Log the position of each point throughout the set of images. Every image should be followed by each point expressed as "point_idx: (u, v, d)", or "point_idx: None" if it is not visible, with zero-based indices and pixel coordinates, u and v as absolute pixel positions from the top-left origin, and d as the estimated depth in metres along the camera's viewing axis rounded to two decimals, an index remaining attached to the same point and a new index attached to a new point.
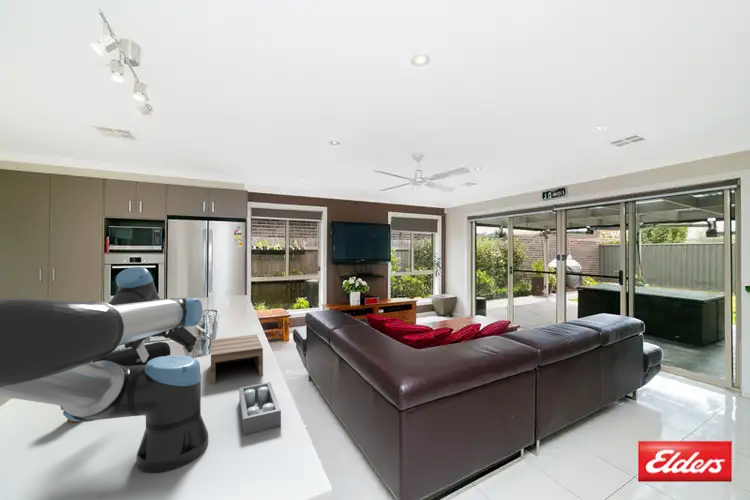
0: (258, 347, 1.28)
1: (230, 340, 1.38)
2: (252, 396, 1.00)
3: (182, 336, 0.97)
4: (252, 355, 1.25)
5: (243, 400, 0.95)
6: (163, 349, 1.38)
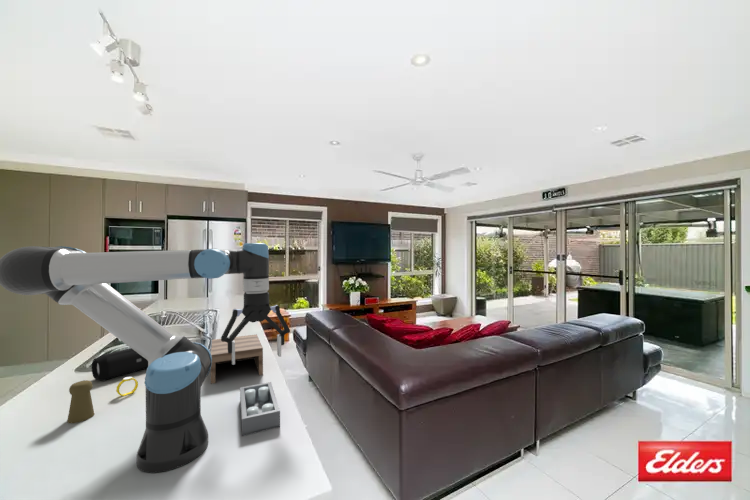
0: (258, 347, 1.28)
1: None
2: (252, 396, 1.00)
3: None
4: (252, 355, 1.25)
5: (243, 400, 0.95)
6: None
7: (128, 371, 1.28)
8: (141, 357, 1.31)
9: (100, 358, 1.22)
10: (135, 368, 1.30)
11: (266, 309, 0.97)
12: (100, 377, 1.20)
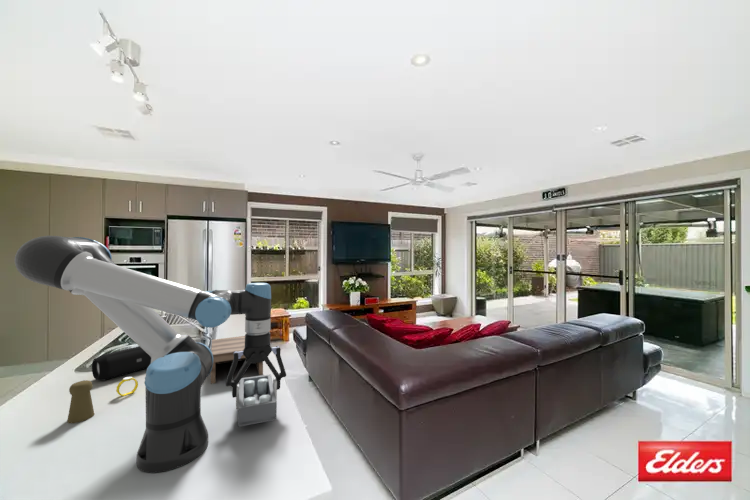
0: None
1: (230, 340, 1.38)
2: (251, 387, 1.00)
3: None
4: None
5: (241, 390, 0.95)
6: None
7: (128, 371, 1.28)
8: (141, 357, 1.31)
9: (100, 358, 1.22)
10: (135, 368, 1.29)
11: (267, 350, 0.97)
12: (100, 377, 1.20)
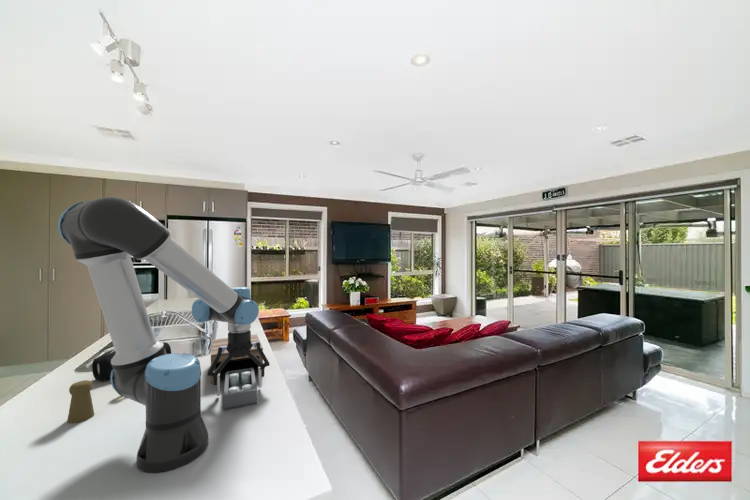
0: None
1: None
2: (236, 379, 1.14)
3: None
4: None
5: (227, 381, 1.09)
6: None
7: None
8: None
9: (100, 358, 1.21)
10: None
11: (248, 346, 1.10)
12: (100, 377, 1.20)
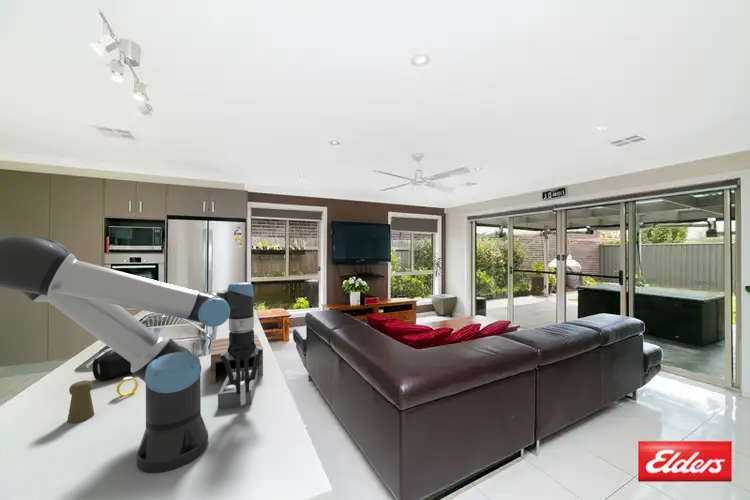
0: (258, 347, 1.28)
1: None
2: None
3: None
4: (252, 355, 1.25)
5: (227, 379, 1.11)
6: None
7: (129, 371, 1.28)
8: None
9: (101, 358, 1.21)
10: None
11: (251, 347, 1.00)
12: (100, 377, 1.20)
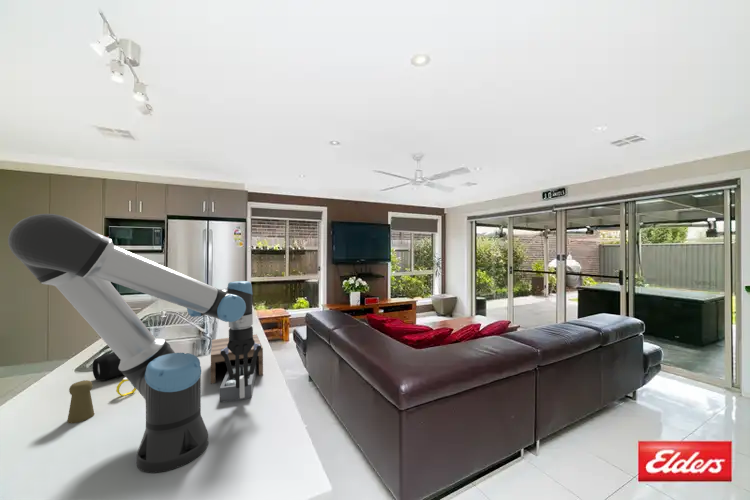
0: None
1: None
2: None
3: None
4: (252, 355, 1.25)
5: (227, 375, 1.15)
6: None
7: None
8: None
9: (101, 358, 1.21)
10: None
11: (250, 343, 1.04)
12: (100, 377, 1.20)
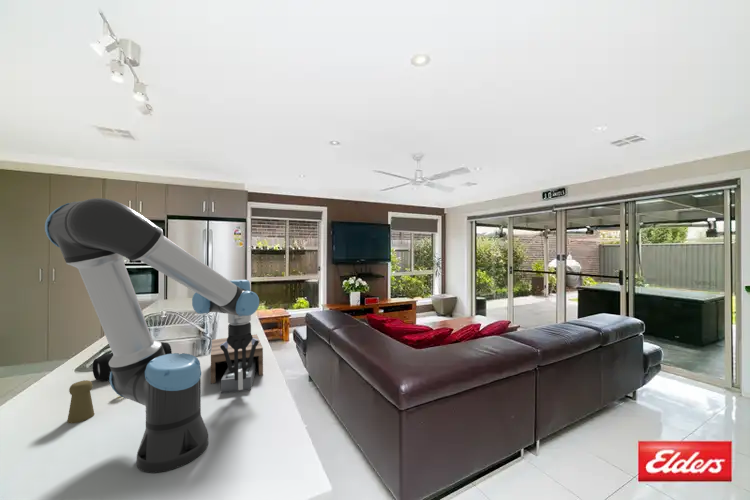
0: (258, 347, 1.28)
1: None
2: (238, 366, 1.27)
3: None
4: None
5: None
6: (164, 350, 1.38)
7: None
8: None
9: (101, 358, 1.21)
10: None
11: (248, 338, 1.11)
12: (100, 377, 1.20)
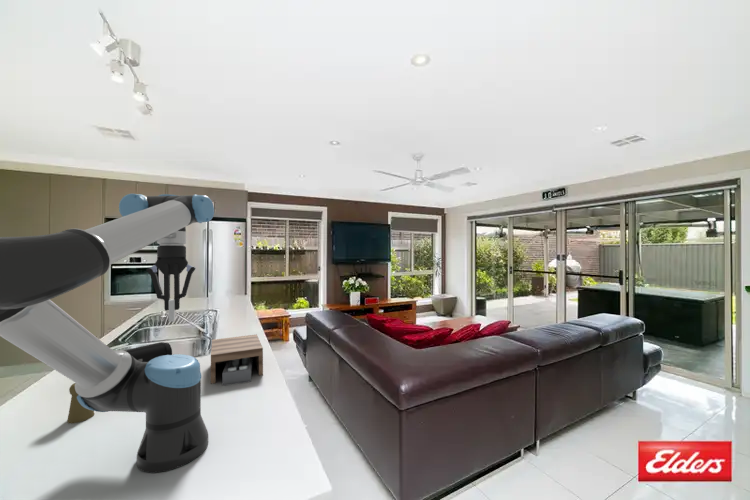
0: (258, 347, 1.28)
1: (230, 340, 1.38)
2: (236, 361, 1.33)
3: None
4: (252, 355, 1.25)
5: (228, 362, 1.28)
6: (164, 350, 1.38)
7: None
8: (142, 357, 1.30)
9: None
10: None
11: (182, 263, 0.96)
12: None
